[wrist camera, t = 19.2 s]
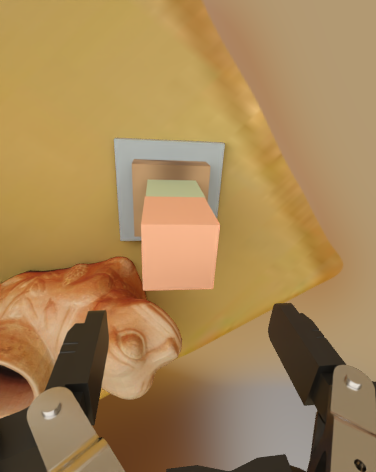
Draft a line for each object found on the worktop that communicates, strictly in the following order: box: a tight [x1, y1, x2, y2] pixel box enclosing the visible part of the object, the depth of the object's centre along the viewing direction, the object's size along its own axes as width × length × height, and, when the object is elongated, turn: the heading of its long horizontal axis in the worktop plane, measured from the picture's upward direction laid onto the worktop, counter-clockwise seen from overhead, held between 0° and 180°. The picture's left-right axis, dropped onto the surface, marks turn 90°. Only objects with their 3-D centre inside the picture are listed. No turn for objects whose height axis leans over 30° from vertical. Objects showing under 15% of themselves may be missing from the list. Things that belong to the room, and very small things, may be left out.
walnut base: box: [132, 159, 211, 237], centre depth 30 cm, size 8×8×3 cm
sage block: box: [146, 180, 205, 197], centre depth 26 cm, size 5×5×6 cm
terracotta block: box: [141, 196, 220, 291], centre depth 20 cm, size 5×5×6 cm
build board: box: [114, 138, 225, 241], centre depth 32 cm, size 12×12×1 cm
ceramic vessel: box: [0, 257, 182, 418], centre depth 31 cm, size 14×26×15 cm, turn 98°
